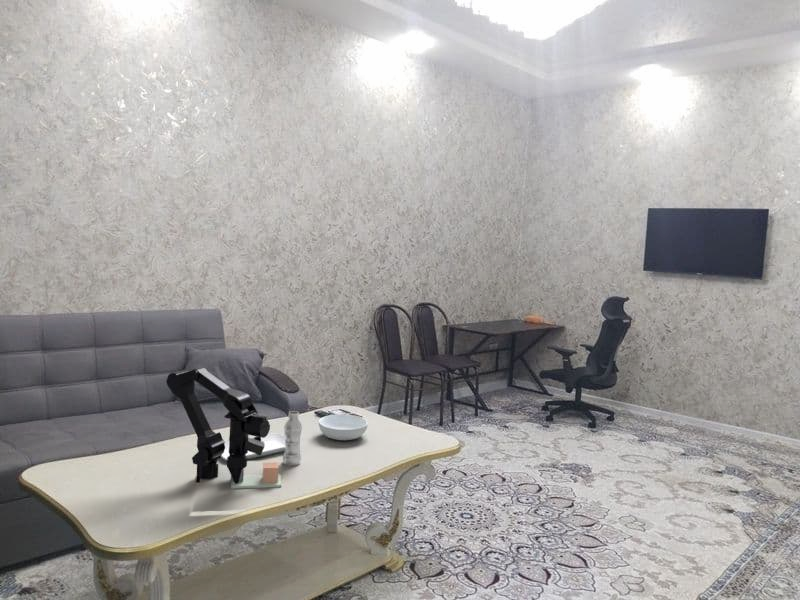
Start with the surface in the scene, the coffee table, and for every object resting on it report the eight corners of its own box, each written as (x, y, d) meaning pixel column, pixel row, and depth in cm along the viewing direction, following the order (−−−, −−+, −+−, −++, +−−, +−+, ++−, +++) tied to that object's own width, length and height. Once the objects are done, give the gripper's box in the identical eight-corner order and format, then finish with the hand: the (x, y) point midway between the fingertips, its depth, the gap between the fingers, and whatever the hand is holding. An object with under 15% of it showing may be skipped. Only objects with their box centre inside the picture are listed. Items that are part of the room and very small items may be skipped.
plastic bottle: (304, 465, 225) (306, 412, 223) (292, 470, 219) (294, 416, 217) (290, 461, 228) (293, 409, 226) (278, 466, 222) (280, 412, 220)
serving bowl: (309, 440, 252) (310, 424, 252) (329, 426, 272) (330, 411, 272) (356, 448, 247) (357, 431, 246) (373, 433, 267) (374, 418, 266)
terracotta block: (262, 482, 202) (263, 468, 201) (262, 477, 207) (263, 462, 206) (278, 482, 203) (278, 467, 202) (277, 476, 208) (278, 462, 207)
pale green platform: (230, 488, 198) (230, 473, 197) (231, 477, 206) (231, 463, 206) (281, 486, 201) (281, 471, 201) (280, 476, 210) (281, 461, 210)
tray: (300, 451, 240) (300, 443, 239) (226, 468, 218) (226, 458, 218) (277, 439, 252) (277, 431, 252) (205, 454, 231) (205, 445, 230)
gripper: (263, 441, 194) (261, 488, 195) (263, 423, 212) (261, 467, 213) (227, 441, 191) (225, 489, 193) (230, 423, 209) (228, 467, 211)
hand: (237, 478), depth 202 cm, fingers open, 9 cm apart
